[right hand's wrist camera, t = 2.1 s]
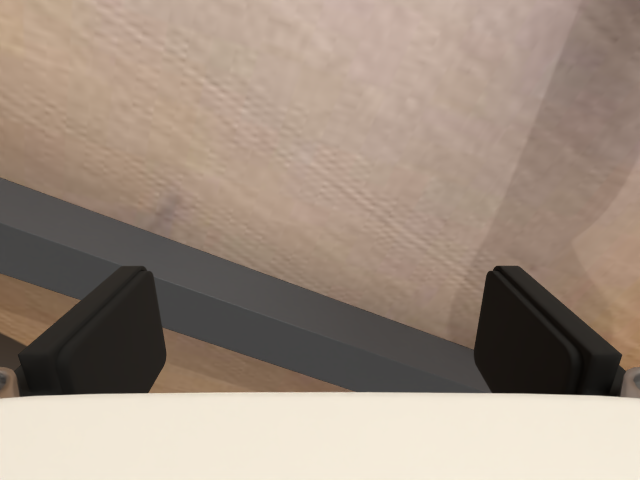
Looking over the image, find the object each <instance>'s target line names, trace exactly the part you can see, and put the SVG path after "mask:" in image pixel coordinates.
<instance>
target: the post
mask: <svg viewBox="0 0 640 480" xmlns="http://www.w3.org/2000/svg"><path fill="white" fill-rule="evenodd" d="M121 266H144V267H145V268H146V269H147V271H151V272H152V273H153V276H154V281H155V287H156V293H157V299H158V305H159V311H160V317H161V323H162V327H163V328H166V329H169V330H172V331H175V332H178V333H181V334H184V335H187V336H190V337H193V338H196V339H199V340H202V341H205V342H208V343H211V344H214V345H217V346H220V347H223V348H226V349H229V350H232V351H235V352H238V353H241V354H244V355H247V356H250V357H253V358H256V359H259V360H262V361H265V362H268V363H271V364H274V365H277V366H280V367H283V368H286V369H289V370H292V371H295V372H298V373H301V374H304V375H307V376H310V377H313V378H316V379H319V380H322V381H325V382H328V383H331V384H334V385H337V386H340V387H343V388H346V389H349V390H352V391H355V392H401V393H492V392H491V391H490V389H489V387H488V385H487V384H486V382H485V380H484V379H483V377H482V375H481V373H480V372H479V370H478V368H477V366H476V364H475V361H474V350H472V349H469V348H467V347H464V346H461V345H458V344H456V343H453V342H450V341H447V340H445V339H442V338H439V337H436V336H434V335H431V334H428V333H425V332H423V331H420V330H417V329H414V328H412V327H409V326H406V325H403V324H401V323H398V322H395V321H393V320H390V319H387V318H384V317H382V316H379V315H376V314H373V313H371V312H368V311H365V310H362V309H360V308H357V307H354V306H351V305H349V304H346V303H343V302H340V301H338V300H335V299H332V298H329V297H327V296H324V295H321V294H318V293H316V292H313V291H310V290H307V289H305V288H302V287H299V286H296V285H294V284H291V283H288V282H285V281H283V280H280V279H277V278H274V277H272V276H269V275H266V274H263V273H261V272H258V271H255V270H252V269H250V268H247V267H244V266H241V265H239V264H236V263H233V262H230V261H228V260H225V259H222V258H219V257H217V256H214V255H211V254H208V253H206V252H203V251H200V250H197V249H195V248H192V247H189V246H186V245H184V244H181V243H178V242H175V241H173V240H170V239H167V238H164V237H162V236H159V235H156V234H153V233H151V232H148V231H145V230H142V229H140V228H137V227H134V226H131V225H129V224H126V223H123V222H120V221H118V220H115V219H112V218H109V217H107V216H104V215H101V214H98V213H96V212H93V211H90V210H87V209H85V208H82V207H79V206H76V205H74V204H71V203H68V202H66V201H63V200H60V199H57V198H55V197H52V196H49V195H46V194H44V193H41V192H38V191H35V190H33V189H30V188H27V187H24V186H22V185H19V184H16V183H13V182H11V181H8V180H5V179H2V178H0V273H1V274H4V275H7V276H10V277H13V278H16V279H19V280H22V281H25V282H28V283H31V284H34V285H37V286H40V287H43V288H46V289H49V290H52V291H55V292H58V293H61V294H64V295H67V296H70V297H73V298H76V299H79V300H82V299H83V298H85V297H86V296H87V295H88V294H89V293H90V292H92V291H93V290H94V289H95V288H96V287H97V286H99V285H100V284H101V283H102V282H103V281H104V280H106V279H107V278H108V277H109V276H110V275H111V274H113V273H114V272H115V271H116V270H117V269H118V268H120V267H121Z"/></svg>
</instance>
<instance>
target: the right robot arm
mask: <svg viewBox="0 0 640 480" xmlns="http://www.w3.org/2000/svg"><path fill="white" fill-rule="evenodd" d="M18 357H19V360H20V363H21V365H20V366H19V367H18V368H17V369H16V370H15V371H13V370H11V369H8V368H5V367H0V480H640V367H635V368H632V369H629V370H627V371H625V370H624V369H623V368H622V367H621V366H620V365H619V363H620V360H621V357H622V354H621V353H620V352H618V351H617V350H616V349H615V348H614V347H613V346H611V345H610V344H609V343H608V342H607V341H606V340H604V339H603V338H602V337H601V336H600V335H599V334H597V333H596V332H595V331H594V330H593V329H592V328H590V327H589V326H588V325H587V324H586V323H585V322H583V321H582V320H581V319H580V318H579V317H578V316H576V315H575V314H574V313H573V312H572V311H571V310H569V309H568V308H567V307H566V306H565V305H564V304H562V303H561V302H560V301H559V300H558V299H557V298H555V297H554V296H553V295H552V294H551V293H550V292H548V291H547V290H546V289H545V288H544V287H543V286H541V285H540V284H539V283H538V282H537V281H536V280H534V279H533V278H532V277H531V276H530V275H529V274H527V273H526V272H525V271H524V270H523V269H522V268H520V267H519V266H496V267H495V268H494V269H493V271H489V272H488V273H487V276H486V281H485V287H484V293H483V299H482V305H481V311H480V317H479V323H478V330H477V336H476V342H475V348H474V361H475V364H476V366H477V368H478V370H479V372H480V373H481V375H482V377H483V379H484V380H485V382H486V384H487V385H488V387H489V389H490V391H491V392H492V393H401V392H225V393H148V392H149V391H150V389H151V387H152V385H153V384H154V382H155V380H156V379H157V377H158V375H159V373H160V372H161V370H162V368H163V366H164V364H165V361H166V348H165V342H164V336H163V330H162V323H161V317H160V311H159V305H158V299H157V293H156V287H155V281H154V276H153V273H152V272H151V271H147V269H146V268H145V267H144V266H121V267H120V268H118V269H117V270H116V271H115V272H114V273H113V274H111V275H110V276H109V277H108V278H107V279H106V280H104V281H103V282H102V283H101V284H100V285H99V286H97V287H96V288H95V289H94V290H93V291H92V292H90V293H89V294H88V295H87V296H86V297H85V298H83V299H82V300H81V301H80V302H79V303H78V304H76V305H75V306H74V307H73V308H72V309H71V310H69V311H68V312H67V313H66V314H65V315H64V316H62V317H61V318H60V319H59V320H58V321H57V322H55V323H54V324H53V325H52V326H51V327H50V328H48V329H47V330H46V331H45V332H44V333H43V334H41V335H40V336H39V337H38V338H37V339H36V340H34V341H33V342H32V343H31V344H30V345H29V346H27V347H26V348H25V349H24V350H23V351H22V352H21V353H19V354H18Z"/></svg>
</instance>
